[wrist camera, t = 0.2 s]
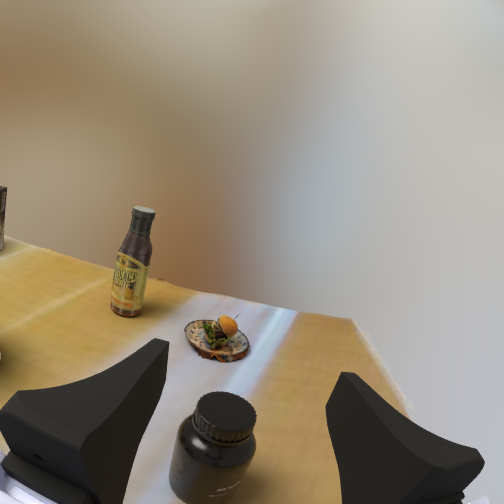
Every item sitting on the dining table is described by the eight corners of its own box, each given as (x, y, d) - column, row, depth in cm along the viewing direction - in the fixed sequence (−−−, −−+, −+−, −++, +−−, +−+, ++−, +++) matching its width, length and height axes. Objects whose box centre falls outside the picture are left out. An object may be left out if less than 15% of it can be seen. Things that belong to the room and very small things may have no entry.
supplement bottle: (225, 518, 20) (261, 454, 17) (157, 493, 21) (167, 420, 18) (241, 471, 26) (274, 398, 24) (182, 450, 27) (199, 373, 25)
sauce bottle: (103, 308, 52) (117, 204, 47) (123, 299, 58) (138, 203, 53) (129, 322, 50) (146, 213, 46) (148, 312, 56) (166, 212, 52)
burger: (206, 321, 60) (214, 288, 59) (257, 346, 56) (268, 312, 54) (168, 339, 50) (175, 301, 48) (226, 372, 45) (237, 333, 44)
